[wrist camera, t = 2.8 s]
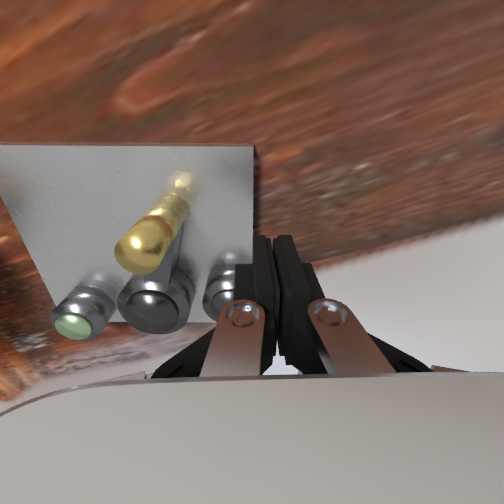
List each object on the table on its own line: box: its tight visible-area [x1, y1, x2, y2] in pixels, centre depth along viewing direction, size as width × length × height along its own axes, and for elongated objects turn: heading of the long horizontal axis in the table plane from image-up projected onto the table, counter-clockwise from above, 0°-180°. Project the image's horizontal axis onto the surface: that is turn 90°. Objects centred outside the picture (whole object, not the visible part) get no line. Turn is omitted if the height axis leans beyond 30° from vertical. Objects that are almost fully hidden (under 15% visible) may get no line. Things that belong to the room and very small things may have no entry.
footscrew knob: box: [114, 194, 194, 334], centre depth 16 cm, size 10×5×6 cm, turn 165°
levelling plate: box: [0, 141, 254, 341], centre depth 18 cm, size 16×14×4 cm
